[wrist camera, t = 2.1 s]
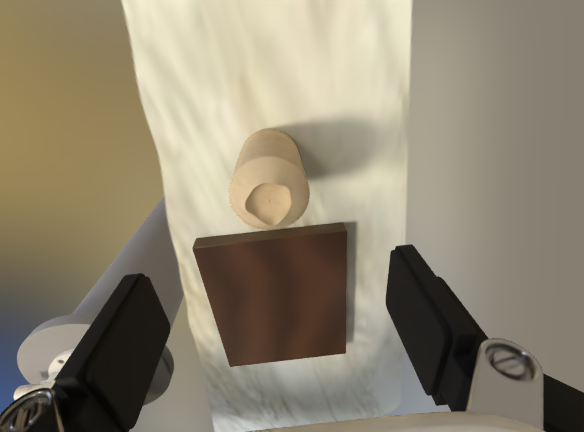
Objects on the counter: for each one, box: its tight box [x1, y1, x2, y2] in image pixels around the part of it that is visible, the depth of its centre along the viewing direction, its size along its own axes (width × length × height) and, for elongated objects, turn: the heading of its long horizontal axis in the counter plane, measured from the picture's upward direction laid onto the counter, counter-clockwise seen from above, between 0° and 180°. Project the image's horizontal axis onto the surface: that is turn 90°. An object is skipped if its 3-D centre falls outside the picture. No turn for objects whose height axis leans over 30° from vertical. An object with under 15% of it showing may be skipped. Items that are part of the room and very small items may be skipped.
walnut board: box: [192, 223, 347, 367], centre depth 35 cm, size 16×20×2 cm
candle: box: [229, 129, 310, 230], centre depth 22 cm, size 6×6×10 cm
